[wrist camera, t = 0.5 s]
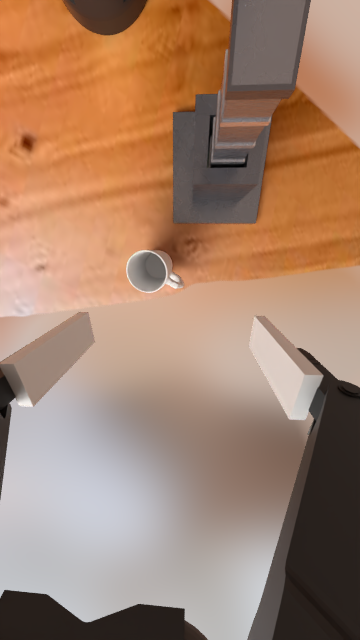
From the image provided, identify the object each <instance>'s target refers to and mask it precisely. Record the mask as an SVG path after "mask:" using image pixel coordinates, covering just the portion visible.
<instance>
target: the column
mask: <svg viewBox="0 0 360 640" xmlns="http://www.w3.org/2000/svg"><path fill="white" fill-rule="evenodd" d="M310 2H311V0H232V10H231V23H230V36H229V48H228V49H226V52H225V60H224V74H223V80H222V85H221V90H219V91H218V100H217V111H216V116H215V117H214V119H213V132H212V136H210V147H209V149H208V160H207V168H239V167H240V166H241V164H244V162H245V157H246V156H247V154H248V153H249V151H250V149H251V148H254V147H255V143H256V140H257V138H258V136H259V135H260V133H261V132H262V130H263V128H264V127H265V126H268V125H269V123H270V122H271V115H272V114H273V112H274V111H275V109H276V107H277V106H278V104H279V102H280V101H281V99H289V97H290V96H291V94H292V93H293V91H294V90H295V85H296V79H297V73H298V68H299V63H300V57H301V52H302V46H303V40H304V35H305V29H306V23H307V18H308V13H309V7H310Z"/></svg>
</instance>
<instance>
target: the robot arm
mask: <svg viewBox="0 0 360 640" xmlns="http://www.w3.org/2000/svg"><path fill="white" fill-rule="evenodd" d="M146 1H147V0H63V2H64V4H65V6H66V7H67V9H68V10H69V12H70V13H71V14H72V15H73V17H74V18H75V19H76V20H77V21H78V22H79V23H80V24H81V25H82V26H84V27H85V28H87V29H88V30H90V31H92V32H94V33H97V34H101V35H113V34H117V33H119V32H122V31H123V30H125V29H126V28H128V27H129V26H130V25H131V24H132V23H133V22H134V21H135V20H136V19H137V17H138V16H139V14H140V13H141V11H142V9H143V7H144V5H145V3H146ZM94 342H95V340H94V335H93V331H92V326H91V322H90V317H89V313H88V312H79V313H77V314H76V315H74V316H72V317H71V318H69V319H68V320H66V321H64V322H63V323H61V324H60V325H58V326H57V327H55V328H54V329H52V330H50V331H49V332H47V333H46V334H44V335H42V336H41V337H39V338H38V339H36V340H35V341H33V342H31V343H30V344H28V345H26V346H25V347H23V348H22V349H20V350H19V351H17V352H15V353H14V354H12V355H10V356H9V357H7V358H6V359H4V360H3V361H1V362H0V498H1V490H2V481H3V473H4V466H5V457H6V450H7V442H8V434H9V425H10V417H11V405H10V404H9V403H10V402H11V401H12V400H13V399H14V398H16V400H17V402H18V404H19V406H29V407H34V405H35V404H36V403H37V402H38V401H39V400H40V399H41V398H42V397H43V396H44V395H45V394H46V393H47V392H48V391H49V390H50V389H51V388H52V387H53V385H54V384H55V383H56V382H57V381H58V380H59V379H60V378H61V377H62V376H63V375H64V374H65V373H66V372H67V371H68V370H69V369H70V368H71V366H73V365H74V363H75V362H76V361H77V360H78V359H79V358H80V357H81V356H82V355H83V354H84V353H85V352H86V351H87V350H88V349H89V348H90V347H91V345H93V343H94ZM249 347H250V349H251V351H252V353H253V355H254V357H255V358H256V360H257V362H258V364H259V366H260V367H261V369H262V371H263V373H264V375H265V377H266V378H267V380H268V382H269V384H270V386H271V387H272V389H273V391H274V393H275V394H276V396H277V398H278V400H279V402H280V404H281V405H282V407H283V409H284V411H285V413H286V414H287V416H288V418H289V419H293V420H305V419H306V417H307V414H308V412H310V413H311V415H312V416H313V417H314V421H313V423H312V425H311V427H310V429H309V432H308V435H309V436H308V440H307V443H306V446H305V450H304V453H303V457H302V460H301V464H300V467H299V471H298V474H297V478H296V481H295V484H294V488H293V491H292V495H291V498H290V502H289V505H288V509H287V512H286V516H285V519H284V522H283V526H282V530H281V533H280V537H279V540H278V543H277V547H276V550H275V554H274V557H273V561H272V564H271V567H270V571H269V574H268V578H267V581H266V585H265V588H264V592H263V595H262V598H261V602H260V605H259V608H258V610H257V613H256V616H255V618H254V621H253V624H252V627H251V630H250V633H249V636H248V640H360V388H359V387H358V386H356V385H353V384H351V383H349V382H345V381H340V380H338V379H337V378H335V377H334V376H333V375H332V374H331V373H330V372H329V371H328V370H327V369H326V368H325V367H323V365H321V364H320V362H318V361H317V360H316V359H315V358H314V357H313V356H312V355H311V354H310V353H308V352H307V351H305V350H303V349H301V348H296V347H295V346H294V345H293V344H292V343H291V342H290V341H289V340H288V339H287V338H286V337H285V336H284V335H283V334H282V333H281V332H280V331H279V330H278V329H277V328H276V327H275V326H274V325H273V324H272V323H271V322H270V321H269V320H268V319H267V318H266V317H265V316H254V322H253V327H252V333H251V338H250V344H249ZM184 611H185V609H182V608H172V607H162V606H153V605H144V604H137V605H135V606H132V607H129V608H127V609H124V610H121V611H119V612H116V613H113V614H111V615H108V616H105V617H102V618H100V619H97V620H94V621H92V622H83V621H81V620H80V619H78V618H77V617H76V616H74V615H73V614H72V613H71V612H69V611H68V610H67V609H65V608H64V607H63V606H62V605H60V604H59V603H58V602H56V601H55V600H54V599H52V598H51V597H50V596H48V595H47V594H38V593H28V592H19V591H10V590H4V592H3V594H2V596H1V598H0V640H208V639H207V638H206V637H205V636H204V635H203V634H202V633H201V632H200V631H199V630H198V629H197V628H195V627H194V626H193V625H191V624H189V623H188V622H187V621H185V620H184V613H185V612H184Z"/></svg>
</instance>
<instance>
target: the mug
mask: <svg viewBox="0 0 360 640" xmlns="http://www.w3.org/2000/svg"><path fill="white" fill-rule="evenodd" d="M172 267H173V264H172V260H171V258H170V256H169V255H168V254H167V253H165V252H164V251H160V250H141V251H138V252H136V253H134V254H133V255H132V256H131V257H130V258H129V260H128V262H127V266H126V272H127V277H128V279H129V281H130V283H131V284H132V285H133V286H134V287H135V288H136V289H138V290H140V291H142V292H147V293H150V292H155V291H157V290H159V289H161V288H162V287H163V286H164V284H168V285H170V286H171V287H173V288H175V289H177V288H182V287H184V282H183V280H182V279H181V277H180V276H179V275H177V274H175V273H174V272H172Z"/></svg>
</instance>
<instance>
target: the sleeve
mask: <svg viewBox="0 0 360 640" xmlns="http://www.w3.org/2000/svg"><path fill="white" fill-rule="evenodd" d="M217 100H218V94H199V95H196V104H195V112H173V223H174V224H255V223H256V218H257V212H258V205H259V198H260V192H261V185H262V179H263V172H264V166H265V159H266V152H267V146H268V139H269V133H270V126H271V122H270V123H269V125H268V126H265V127H264V128H263V130H262V132H261V133H260V135H259V136H258V138H257V140H256V143H255V147H254V148H251V149H250V151H249V153H248V154H247V156H246V157H245V162H244V164H241V166H240V167H239V168H207V160H208V149H209V147H210V136H212V132H213V119H214V117H215V116H216V111H217ZM271 119H272V115H271Z"/></svg>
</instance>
